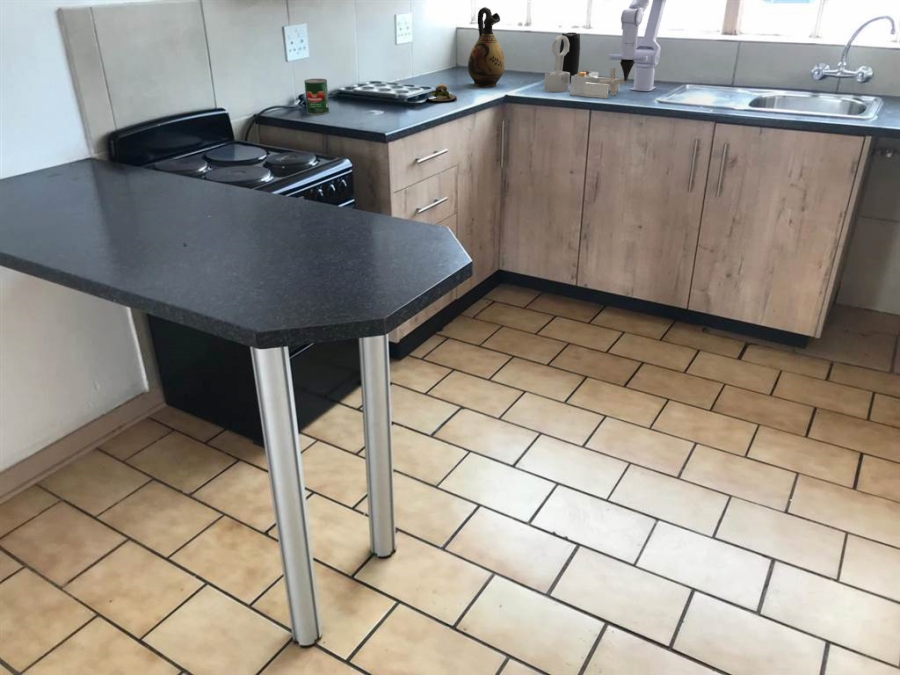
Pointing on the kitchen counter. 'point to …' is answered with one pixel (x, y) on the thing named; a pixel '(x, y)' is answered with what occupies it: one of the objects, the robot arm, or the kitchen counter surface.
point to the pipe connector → (613, 81)
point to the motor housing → (590, 85)
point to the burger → (442, 94)
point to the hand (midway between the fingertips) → (625, 80)
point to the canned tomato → (316, 96)
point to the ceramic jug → (486, 53)
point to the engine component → (558, 69)
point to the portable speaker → (571, 54)
